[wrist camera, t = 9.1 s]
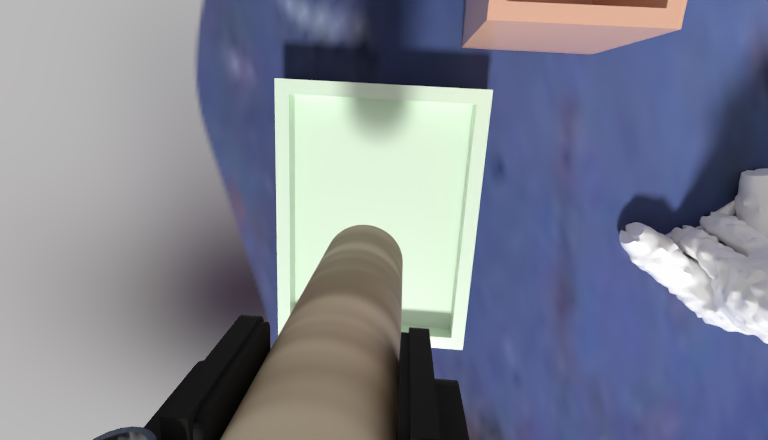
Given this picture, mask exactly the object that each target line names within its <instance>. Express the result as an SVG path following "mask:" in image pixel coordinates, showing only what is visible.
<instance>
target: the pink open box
mask: <svg viewBox="0 0 768 440" xmlns="http://www.w3.org/2000/svg"><path fill="white" fill-rule="evenodd" d="M686 4H687V0H466V4H465V15H464V25H463V36H462V46H461V48H475V49H494V50H514V51H534V52H554V53H574V54H595V53H599V52H602V51H606V50H609V49H613V48H616V47H620V46H623V45H627V44H630V43H634V42H637V41H641V40H645V39H648V38H652V37H655V36H659V35H662V34H666V33H669V32H673V31H676V30H680V29H681V26H682V22H683V17H684V13H685V8H686Z"/></svg>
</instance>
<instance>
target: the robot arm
mask: <svg viewBox="0 0 768 440" xmlns="http://www.w3.org/2000/svg"><path fill="white" fill-rule="evenodd" d="M269 352H270V325H269V322H264V320H263V317H261V316H250V315H241V316H239V318H238V319H237V320H236V321H235V323H234V324H233V325H232V326H231V328H230V329H229V330H228V331H227V333H226V334H225V335H224V336H223V338H222V339H221V340H220V341H219V343H218V344H217V345H216V346H215V347H214V349H213V350H212V351H211V353H210V354H209V355H208V356H207V357H206V359H205V360H204V361H199V362H198V363H197V364H196V365H195V366H194V367H193V368H192V370H191V371H190V372H189V373H188V375H187V376H186V377H185V378H184V380H183V381H182V382H181V383H180V384H179V385H178V387H177V388H176V389H175V390H174V392H173V393H172V394H171V395H170V396H169V398H168V399H167V400H166V401H165V403H164V404H163V405H162V406H161V407H160V409H159V410H158V411H157V412H156V413H155V415H154V416H153V417H152V418H151V420H150V421H149V422H148V423H147V424H146V426H145V427H144V428H142V427H126V428H120V429H116V430H113V431H109V432H107V433H105V434H103V435H100V436H98V437H96V438H95V439H93V440H220V439H221V437H222V435H223V433H224V432H225V430H226V428H227V426H228V425H229V423H230V421H231V419H232V417H233V416H234V414H235V412H236V410H237V409H238V407H239V405H240V403H241V401H242V400H243V398H244V396H245V394H246V393H247V391H248V389H249V387H250V385H251V384H252V382H253V380H254V378H255V376H256V375H257V373H258V371H259V369H260V368H261V366H262V364H263V362H264V360H265V359H266V357H267V355H268V353H269ZM397 440H469V436H468V431H467V426H466V420H465V415H464V410H463V405H462V399H461V394H460V389H459V384H458V381H457V380H445V379H434V370H433V361H432V351H431V342H430V332H429V329H425V328H412V327H409V333H407V332H401V340H400V354H399V377H398V412H397Z"/></svg>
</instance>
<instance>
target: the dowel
mask: <svg viewBox="0 0 768 440" xmlns="http://www.w3.org/2000/svg"><path fill="white" fill-rule="evenodd" d="M402 270H403V259H402V253H401V250H400V248H399V246H398V244H397V242H396V241H395V240H394V238H393V237H392V236H391V235H390V234H388V233H387V232H386V231H384V230H382V229H380V228H378V227H375V226H371V225H355V226H351V227H349V228H346V229H344V230H343V231H341V232H340V233H338V234H337V235H336V236H335V237H334V239H333V240H332V241H331V243H330V245H329V247H328V248H327V250H326V252H325V254H324V255H323V257H322V259H321V261H320V263H319V264H318V266H317V268H316V270H315V271H314V273H313V275H312V277H311V279H310V280H309V282H308V284H307V286H306V287H305V289H304V291H303V293H302V295H301V296H300V298H299V300H298V302H297V304H296V305H295V307H294V309H293V311H292V312H291V314H290V316H289V318H288V320H287V321H286V323H285V325H284V327H283V328H282V330H281V332H280V334H279V336H278V337H277V339H276V341H275V343H274V344H273V346H272V348H271V350H270V352H269V353H268V355H267V357H266V359H265V360H264V362H263V364H262V366H261V368H260V369H259V371H258V373H257V375H256V376H255V378H254V380H253V382H252V384H251V385H250V387H249V389H248V391H247V393H246V394H245V396H244V398H243V400H242V401H241V403H240V405H239V407H238V409H237V410H236V412H235V414H234V416H233V417H232V419H231V421H230V423H229V425H228V426H227V428H226V430H225V432H224V433H223V435H222V437H221V439H220V440H397V412H398V377H399V354H400V340H401V319H402Z"/></svg>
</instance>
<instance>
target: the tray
mask: <svg viewBox="0 0 768 440" xmlns="http://www.w3.org/2000/svg"><path fill="white" fill-rule="evenodd" d="M274 80H275V148H276V216H277V283H278V336H279V334H280V332H281V330H282V328H283V327H284V325H285V323H286V321H287V320H288V318H289V316H290V314H291V312H292V311H293V309H294V307H295V305H296V304H297V302H298V300H299V298H300V296H301V295H302V293H303V291H304V289H305V287H306V286H307V284H308V282H309V280H310V279H311V277H312V275H313V273H314V271H315V270H316V268H317V266H318V264H319V263H320V261H321V259H322V257H323V255H324V254H325V252H326V250H327V248H328V247H329V245H330V243H331V241H332V240H333V239H334V237H335V236H336V235H337V234H338V233H340V232H341V231H343V230H344V229H346V228H349V227H351V226H355V225H371V226H375V227H378V228H380V229H382V230H384V231H386V232H387V233H388V234H390V235H391V236H392V237H393V238H394V240H395V241H396V242H397V244H398V246H399V248H400V250H401V253H402V259H403V270H402V319H401V332H407V333H409V327H412V328H425V329H429V332H430V342H431V348H443V349H456V350H463V342H464V334H465V325H466V317H467V308H468V300H469V291H470V282H471V274H472V265H473V257H474V248H475V240H476V231H477V223H478V214H479V206H480V197H481V189H482V180H483V172H484V163H485V154H486V146H487V137H488V129H489V120H490V112H491V103H492V95H493V90H486V89H467V88H449V87H430V86H411V85H393V84H374V83H355V82H337V81H318V80H300V79H281V78H274Z"/></svg>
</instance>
